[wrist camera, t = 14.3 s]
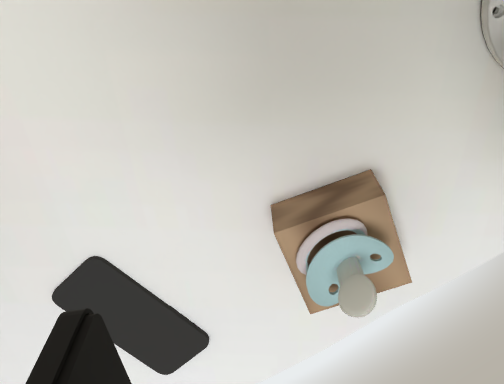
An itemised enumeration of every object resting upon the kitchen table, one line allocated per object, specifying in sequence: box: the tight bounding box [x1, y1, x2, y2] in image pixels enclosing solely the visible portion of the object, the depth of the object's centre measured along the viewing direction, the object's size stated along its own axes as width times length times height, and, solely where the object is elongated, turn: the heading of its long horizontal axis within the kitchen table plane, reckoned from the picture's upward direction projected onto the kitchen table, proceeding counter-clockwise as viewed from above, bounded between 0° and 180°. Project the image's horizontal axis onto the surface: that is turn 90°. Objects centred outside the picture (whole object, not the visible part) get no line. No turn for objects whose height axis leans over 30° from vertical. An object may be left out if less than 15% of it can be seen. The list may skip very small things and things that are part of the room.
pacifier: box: [296, 218, 394, 318], centre depth 36 cm, size 7×6×6 cm
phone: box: [52, 256, 209, 375], centre depth 47 cm, size 7×1×15 cm
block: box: [271, 170, 412, 314], centre depth 41 cm, size 9×9×5 cm
